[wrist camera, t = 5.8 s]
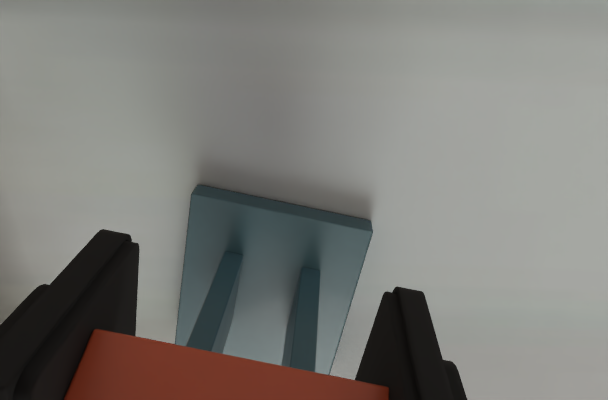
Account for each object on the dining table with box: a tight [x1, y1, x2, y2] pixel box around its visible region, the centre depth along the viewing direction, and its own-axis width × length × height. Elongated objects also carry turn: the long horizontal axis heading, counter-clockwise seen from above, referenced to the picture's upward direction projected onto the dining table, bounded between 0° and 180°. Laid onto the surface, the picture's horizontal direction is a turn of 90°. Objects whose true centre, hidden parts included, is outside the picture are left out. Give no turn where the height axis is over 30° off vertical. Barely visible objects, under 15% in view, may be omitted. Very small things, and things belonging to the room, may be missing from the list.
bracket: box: [175, 185, 373, 375], centre depth 20 cm, size 10×9×13 cm
